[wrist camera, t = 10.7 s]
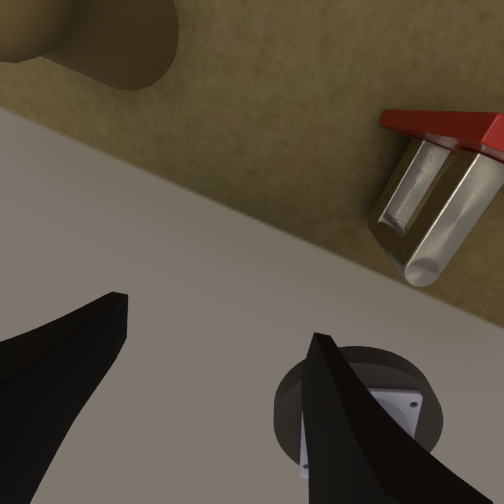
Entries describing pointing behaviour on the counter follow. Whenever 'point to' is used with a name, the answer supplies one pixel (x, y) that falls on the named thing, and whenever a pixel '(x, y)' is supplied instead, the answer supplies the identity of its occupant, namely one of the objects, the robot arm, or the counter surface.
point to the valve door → (437, 187)
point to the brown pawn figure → (93, 37)
